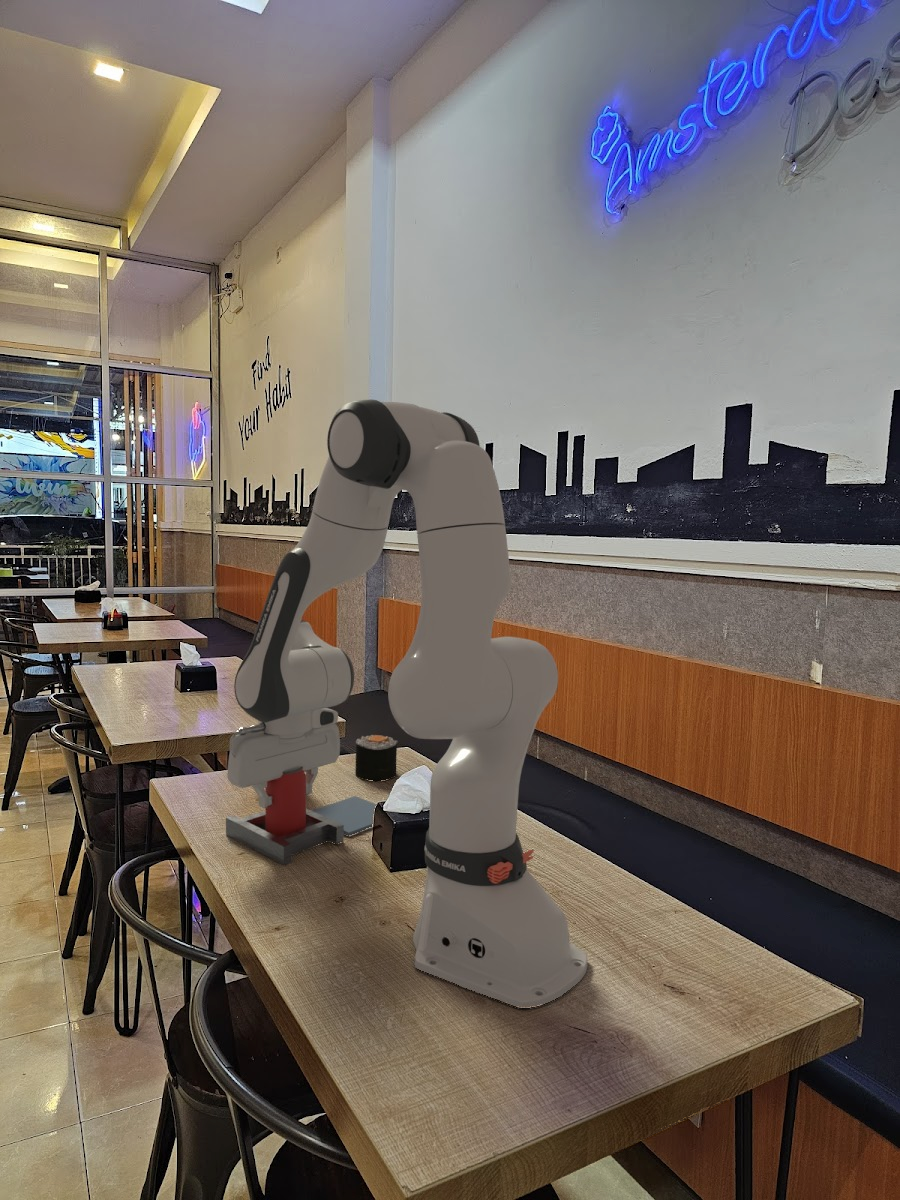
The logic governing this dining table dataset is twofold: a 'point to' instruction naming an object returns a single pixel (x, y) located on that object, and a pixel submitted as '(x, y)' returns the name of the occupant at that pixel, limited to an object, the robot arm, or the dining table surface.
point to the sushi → (376, 757)
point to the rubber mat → (350, 814)
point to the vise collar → (285, 846)
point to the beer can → (287, 803)
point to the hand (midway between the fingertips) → (286, 800)
